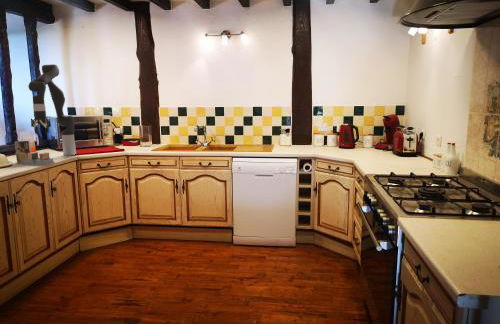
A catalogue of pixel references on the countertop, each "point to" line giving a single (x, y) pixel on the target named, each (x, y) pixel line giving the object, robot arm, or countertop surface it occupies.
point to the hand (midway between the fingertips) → (41, 133)
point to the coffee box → (22, 150)
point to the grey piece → (37, 160)
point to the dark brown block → (44, 156)
